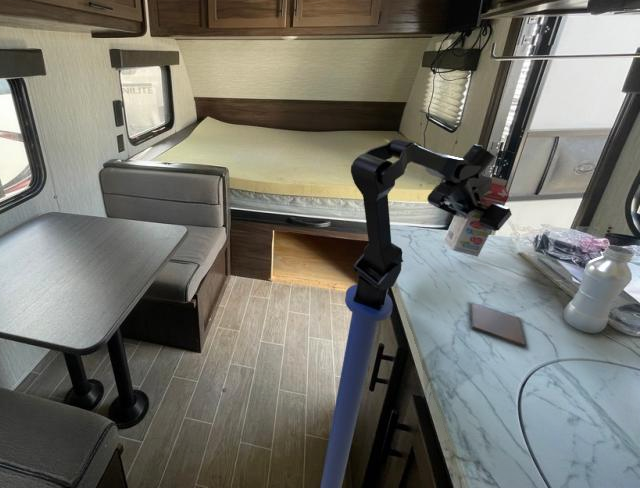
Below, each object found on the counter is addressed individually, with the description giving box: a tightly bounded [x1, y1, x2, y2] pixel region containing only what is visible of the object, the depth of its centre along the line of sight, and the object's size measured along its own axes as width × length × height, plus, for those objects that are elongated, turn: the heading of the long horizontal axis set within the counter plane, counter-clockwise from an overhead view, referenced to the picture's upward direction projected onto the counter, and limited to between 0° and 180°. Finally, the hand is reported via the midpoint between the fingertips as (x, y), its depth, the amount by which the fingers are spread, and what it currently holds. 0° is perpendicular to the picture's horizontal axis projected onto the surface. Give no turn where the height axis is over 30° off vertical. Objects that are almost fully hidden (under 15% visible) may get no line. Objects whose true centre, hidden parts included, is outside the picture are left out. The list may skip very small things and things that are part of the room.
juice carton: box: [443, 173, 510, 258], centre depth 90 cm, size 7×7×22 cm
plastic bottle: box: [562, 244, 635, 334], centre depth 68 cm, size 6×7×20 cm
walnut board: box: [470, 302, 526, 348], centre depth 72 cm, size 9×9×1 cm
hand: (472, 221), depth 91 cm, fingers open, 9 cm apart
